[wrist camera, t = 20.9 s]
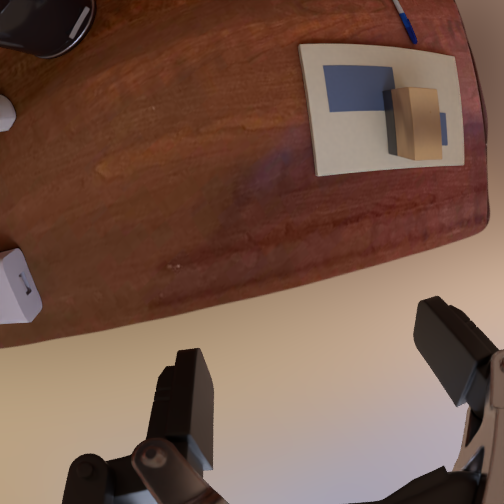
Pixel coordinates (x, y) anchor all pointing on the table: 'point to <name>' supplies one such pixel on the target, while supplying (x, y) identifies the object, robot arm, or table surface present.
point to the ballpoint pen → (406, 22)
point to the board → (373, 104)
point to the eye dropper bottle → (6, 114)
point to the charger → (17, 289)
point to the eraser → (413, 123)
